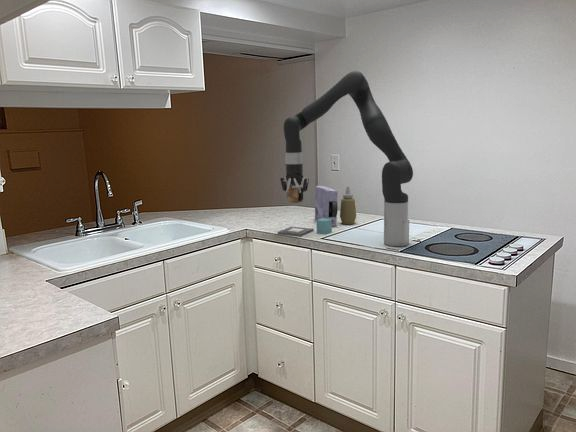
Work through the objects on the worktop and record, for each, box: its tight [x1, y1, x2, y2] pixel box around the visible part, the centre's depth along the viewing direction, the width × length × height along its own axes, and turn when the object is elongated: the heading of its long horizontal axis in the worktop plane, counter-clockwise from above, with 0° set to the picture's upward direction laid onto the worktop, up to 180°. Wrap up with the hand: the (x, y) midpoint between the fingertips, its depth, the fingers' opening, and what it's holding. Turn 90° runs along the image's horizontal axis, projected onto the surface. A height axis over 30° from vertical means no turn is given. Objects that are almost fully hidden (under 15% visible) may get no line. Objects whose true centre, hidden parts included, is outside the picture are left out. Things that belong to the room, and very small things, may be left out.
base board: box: [277, 226, 315, 238], centre depth 212 cm, size 12×12×1 cm
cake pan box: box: [314, 185, 339, 227], centre depth 228 cm, size 19×5×18 cm, turn 18°
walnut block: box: [286, 187, 304, 204], centre depth 209 cm, size 5×5×6 cm
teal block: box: [316, 218, 333, 235], centre depth 210 cm, size 5×5×6 cm
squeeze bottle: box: [339, 186, 357, 225], centre depth 226 cm, size 8×8×18 cm
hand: (295, 200), depth 209 cm, fingers closed on walnut block, 5 cm apart
